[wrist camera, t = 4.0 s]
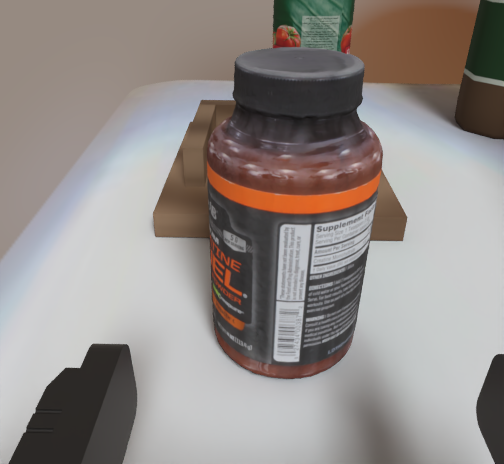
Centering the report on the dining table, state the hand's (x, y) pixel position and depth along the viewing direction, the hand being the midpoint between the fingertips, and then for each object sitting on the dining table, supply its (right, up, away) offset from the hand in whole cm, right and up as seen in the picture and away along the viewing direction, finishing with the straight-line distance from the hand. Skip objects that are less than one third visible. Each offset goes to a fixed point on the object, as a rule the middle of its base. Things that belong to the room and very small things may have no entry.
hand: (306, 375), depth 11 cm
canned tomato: (+5, +17, +41) cm, 44 cm away
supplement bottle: (0, -1, +10) cm, 10 cm away
